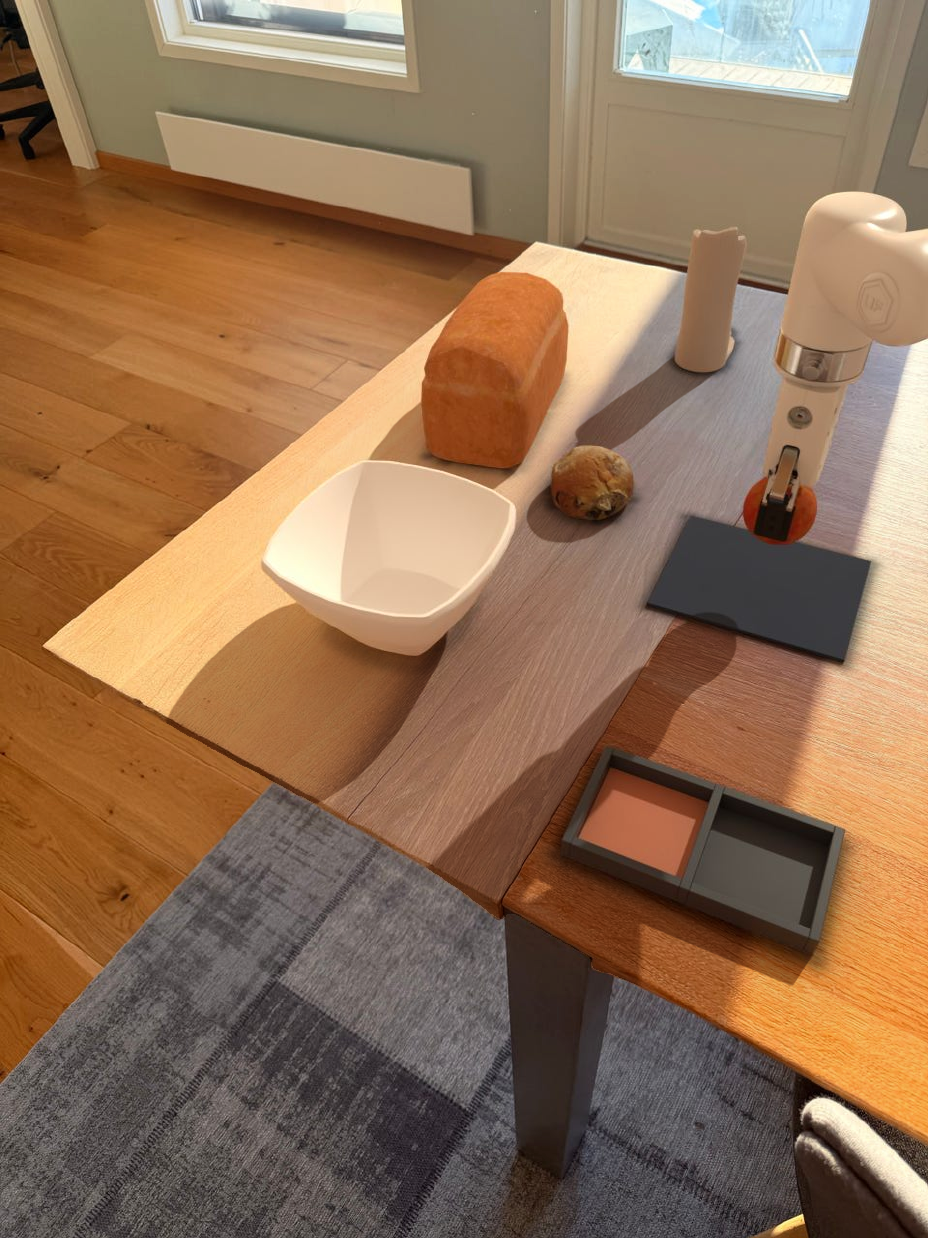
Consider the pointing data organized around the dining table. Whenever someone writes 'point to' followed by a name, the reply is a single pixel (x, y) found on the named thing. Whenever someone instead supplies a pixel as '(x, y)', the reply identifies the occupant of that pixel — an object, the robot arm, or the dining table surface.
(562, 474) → the bread roll
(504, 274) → the bread
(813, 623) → the mat
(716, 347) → the candle
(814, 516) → the fruit
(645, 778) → the tray
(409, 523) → the bowl
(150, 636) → the dining table surface
